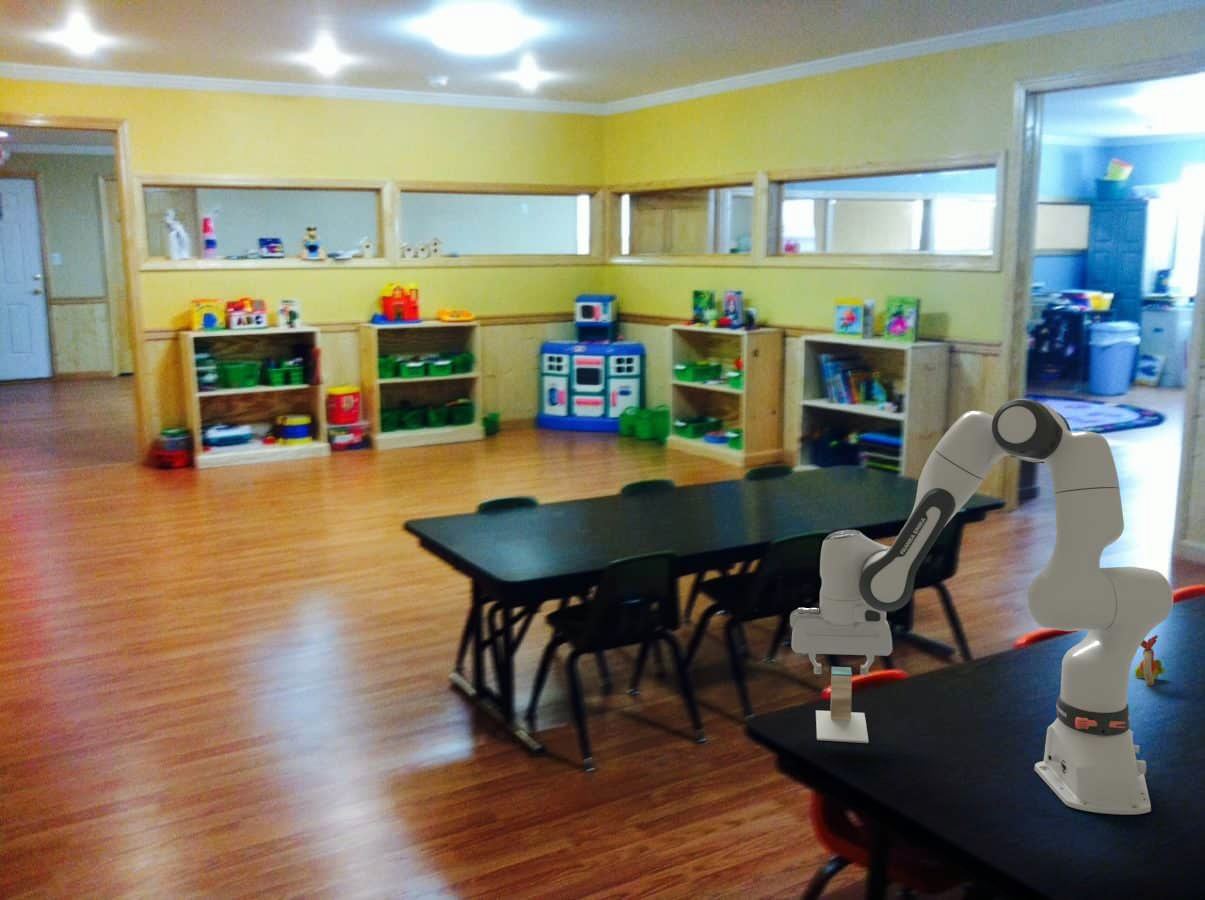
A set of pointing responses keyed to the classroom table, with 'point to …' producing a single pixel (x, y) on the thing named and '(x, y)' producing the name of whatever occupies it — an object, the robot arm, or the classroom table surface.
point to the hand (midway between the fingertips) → (841, 673)
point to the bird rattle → (1149, 663)
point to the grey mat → (841, 728)
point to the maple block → (841, 693)
